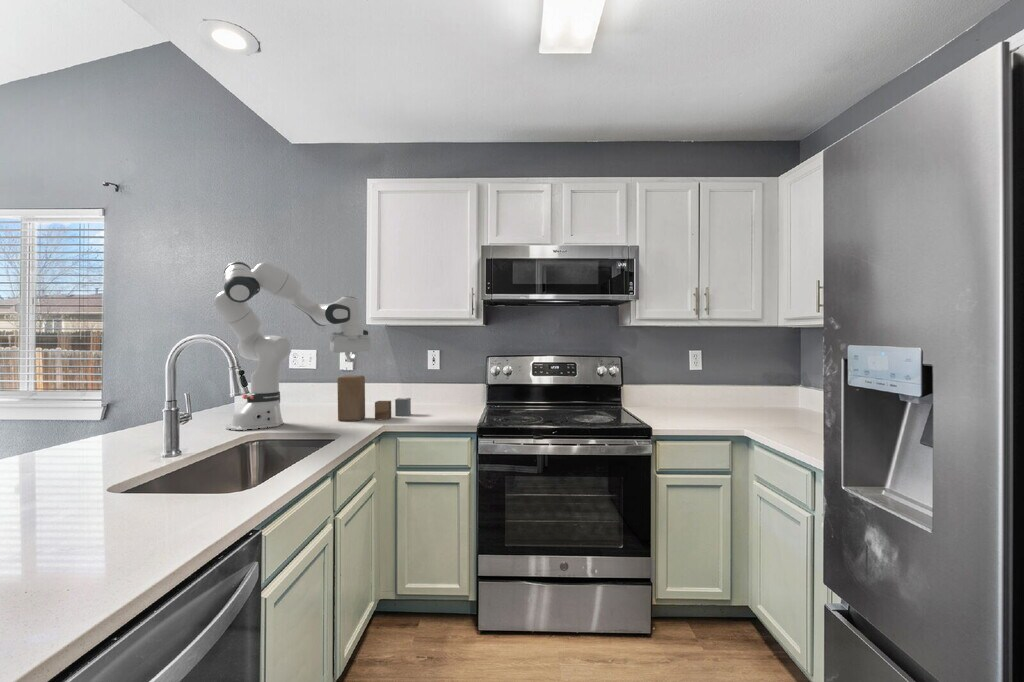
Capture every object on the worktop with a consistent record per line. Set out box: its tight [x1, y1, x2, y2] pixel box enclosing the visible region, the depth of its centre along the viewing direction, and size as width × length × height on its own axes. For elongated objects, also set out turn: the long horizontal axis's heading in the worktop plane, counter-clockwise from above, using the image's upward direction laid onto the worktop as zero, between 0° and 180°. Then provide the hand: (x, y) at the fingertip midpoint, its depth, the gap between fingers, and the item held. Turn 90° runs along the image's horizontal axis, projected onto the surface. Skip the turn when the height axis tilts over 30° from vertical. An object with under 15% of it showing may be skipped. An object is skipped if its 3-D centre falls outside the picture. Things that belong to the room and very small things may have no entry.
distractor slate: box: [394, 397, 412, 417], centre depth 250 cm, size 6×6×8 cm
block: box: [336, 374, 366, 422], centre depth 238 cm, size 10×10×20 cm
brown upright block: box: [374, 400, 392, 421], centre depth 240 cm, size 6×6×8 cm
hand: (351, 362), depth 238 cm, fingers closed
